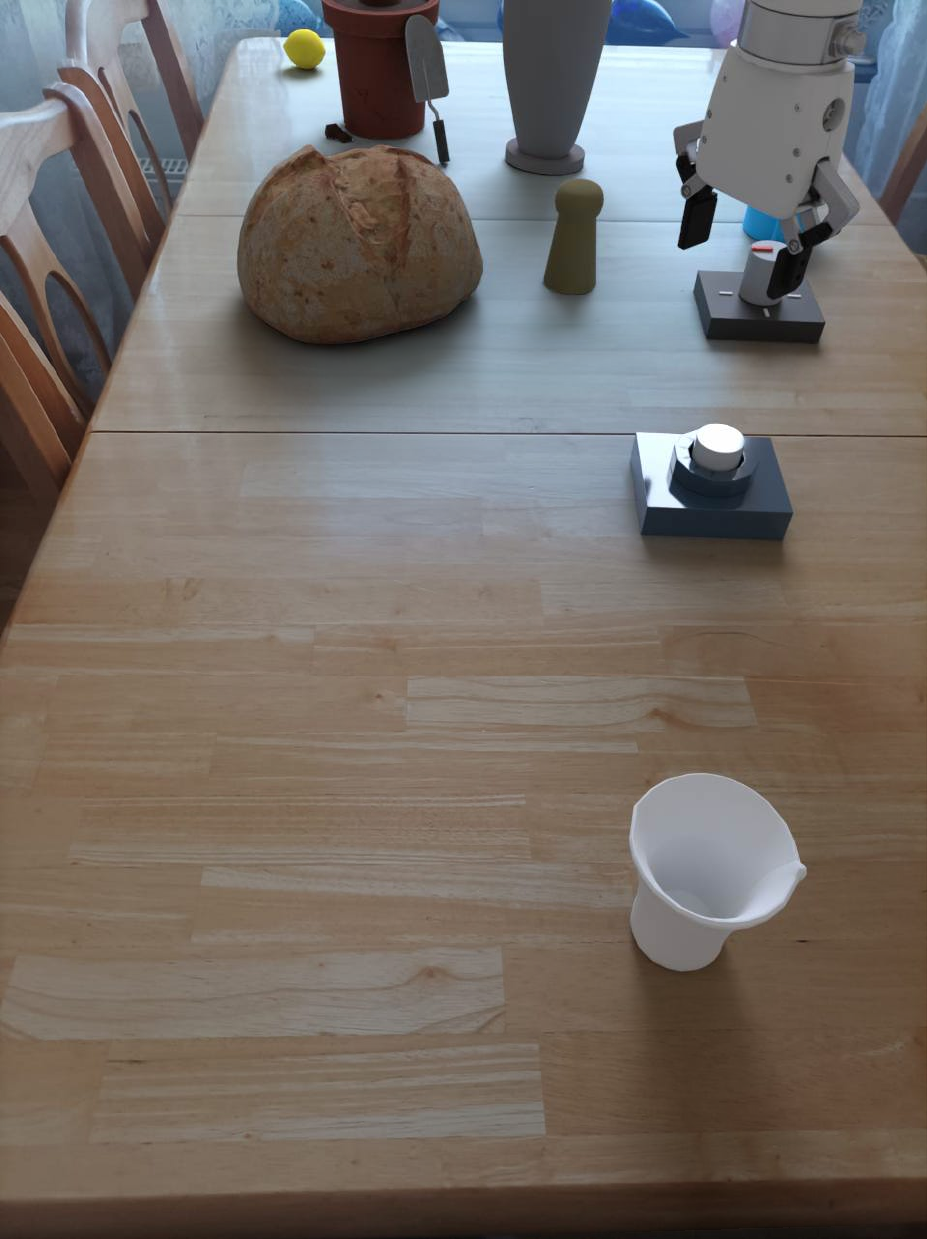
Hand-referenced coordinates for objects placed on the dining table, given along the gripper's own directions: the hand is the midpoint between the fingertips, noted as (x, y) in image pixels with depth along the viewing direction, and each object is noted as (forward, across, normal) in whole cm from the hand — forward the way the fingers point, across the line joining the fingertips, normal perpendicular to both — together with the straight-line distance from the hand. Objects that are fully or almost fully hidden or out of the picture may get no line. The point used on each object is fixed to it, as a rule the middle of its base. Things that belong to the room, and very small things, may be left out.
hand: (735, 268), depth 77 cm
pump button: (+12, -7, +7) cm, 15 cm away
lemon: (+16, +102, -18) cm, 105 cm away
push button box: (+16, -7, +7) cm, 19 cm away
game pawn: (+16, +28, -8) cm, 33 cm away
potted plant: (+16, +74, -14) cm, 77 cm away
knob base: (+16, +11, -20) cm, 28 cm away
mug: (+17, +22, -37) cm, 46 cm away
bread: (+16, +38, +13) cm, 43 cm away
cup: (+16, -34, +36) cm, 52 cm away
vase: (+16, +54, -27) cm, 63 cm away
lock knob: (+14, +11, -21) cm, 27 cm away
